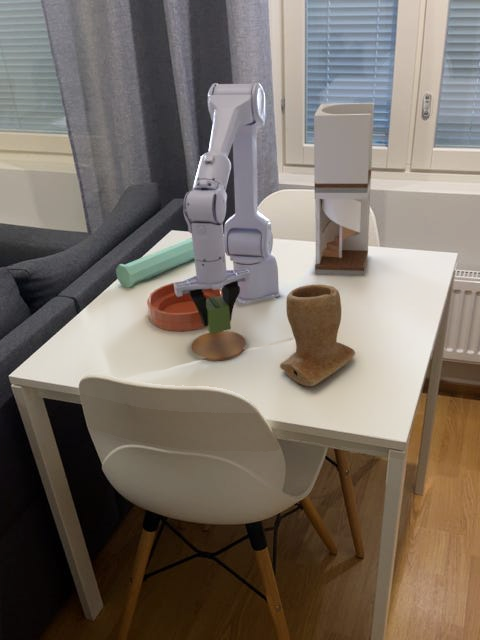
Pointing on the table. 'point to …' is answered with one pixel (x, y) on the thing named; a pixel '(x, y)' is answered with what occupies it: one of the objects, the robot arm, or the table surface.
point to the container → (155, 263)
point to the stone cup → (315, 334)
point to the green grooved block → (217, 314)
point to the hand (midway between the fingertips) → (216, 321)
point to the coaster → (218, 345)
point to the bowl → (176, 309)
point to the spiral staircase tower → (342, 186)
